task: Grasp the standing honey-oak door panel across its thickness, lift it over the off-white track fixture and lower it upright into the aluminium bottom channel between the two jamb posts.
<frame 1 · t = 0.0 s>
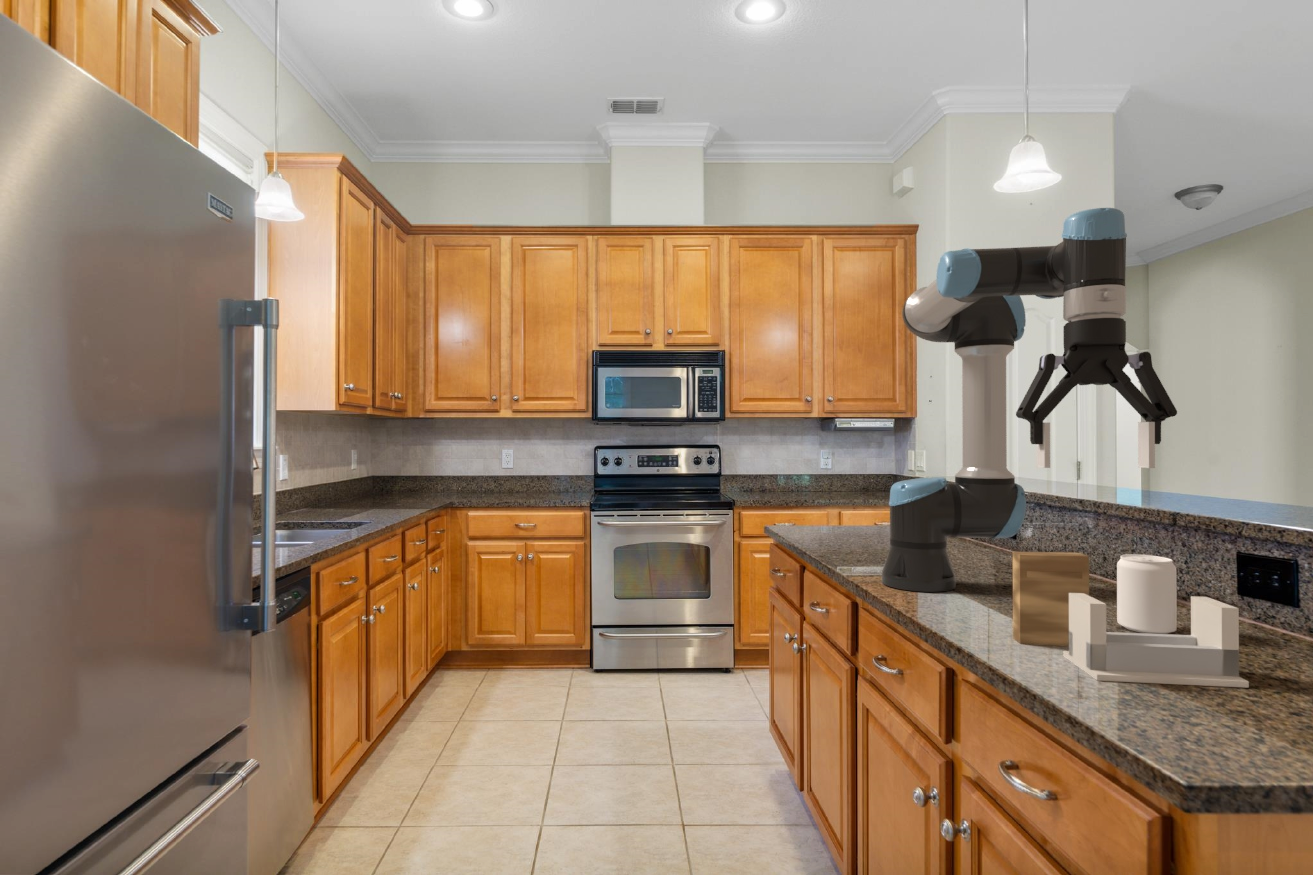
hand: (1094, 467, 96), 28 cm above the counter, fingers open, 13 cm apart
beverage can: (1146, 630, 113), on the counter
door track: (1149, 670, 93), on the counter
door panel: (1050, 642, 106), on the counter
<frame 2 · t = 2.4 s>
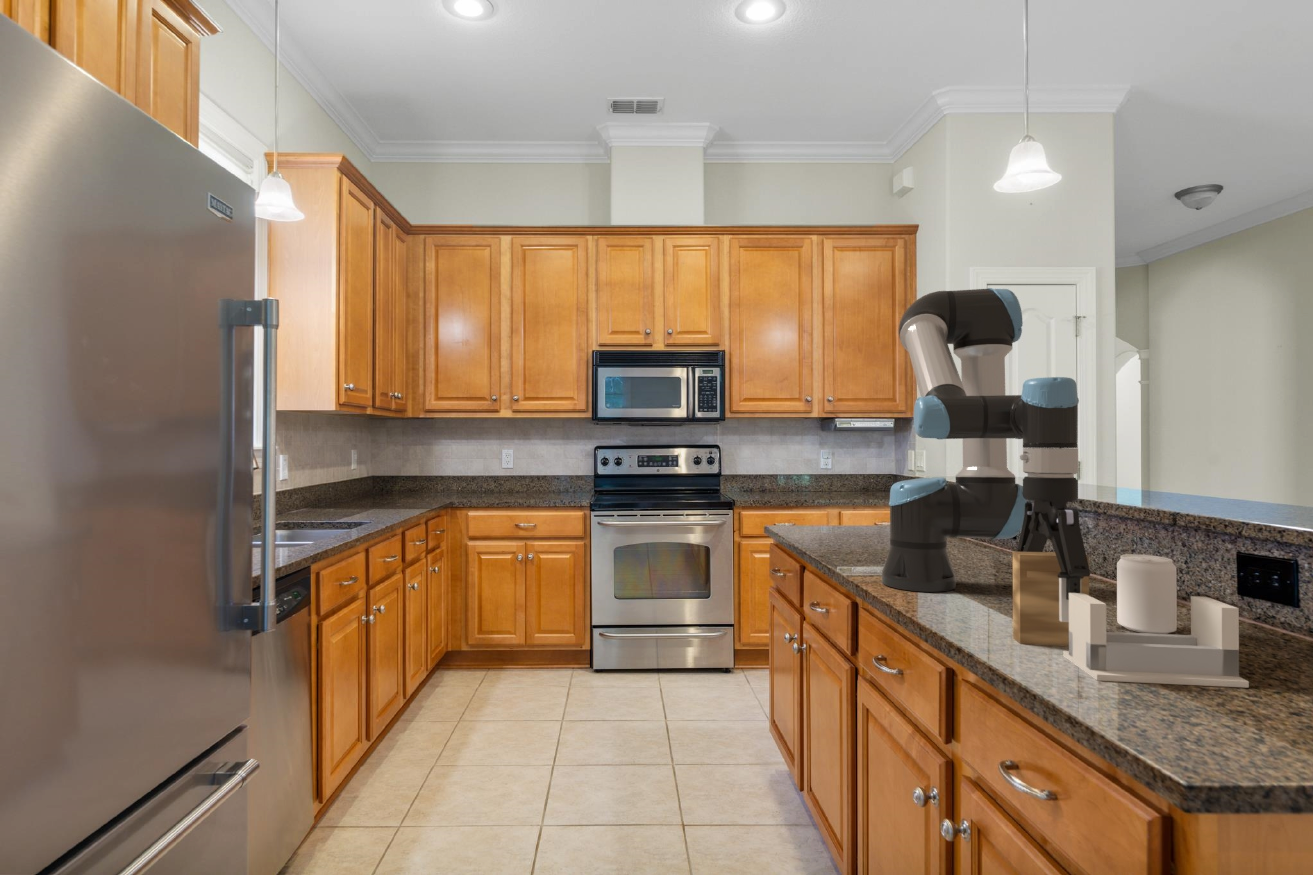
hand: (1050, 610, 106), 5 cm above the counter, fingers open, 13 cm apart
nothing on the counter moved.
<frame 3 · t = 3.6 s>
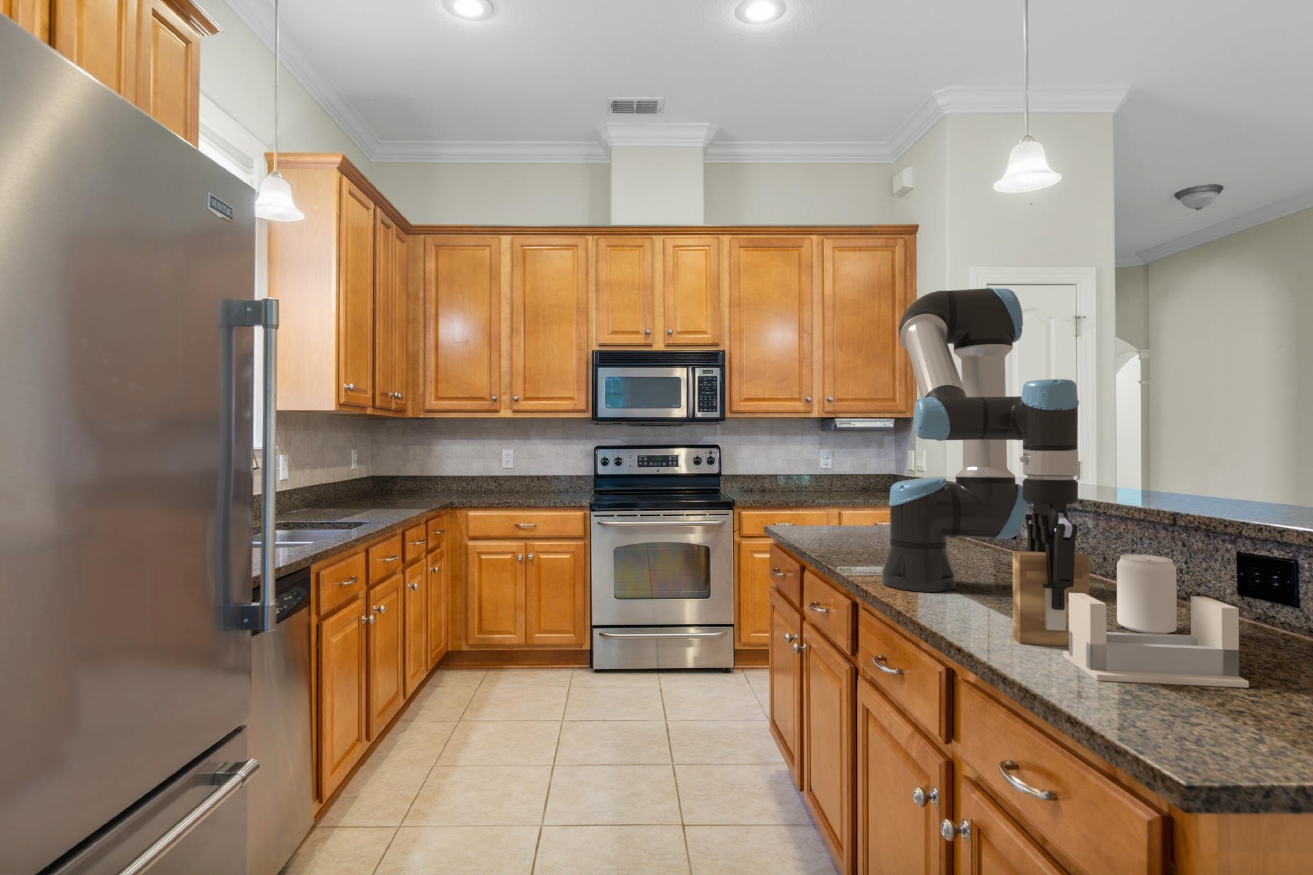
hand: (1050, 625, 106), 3 cm above the counter, fingers closed on door panel, 3 cm apart
door panel: (1050, 642, 106), on the counter, touching gripper
everything else where it was.
when the fingers open (6 cm above the counter, at t = 8.5 s): door panel drops 3 cm, resting on door track.
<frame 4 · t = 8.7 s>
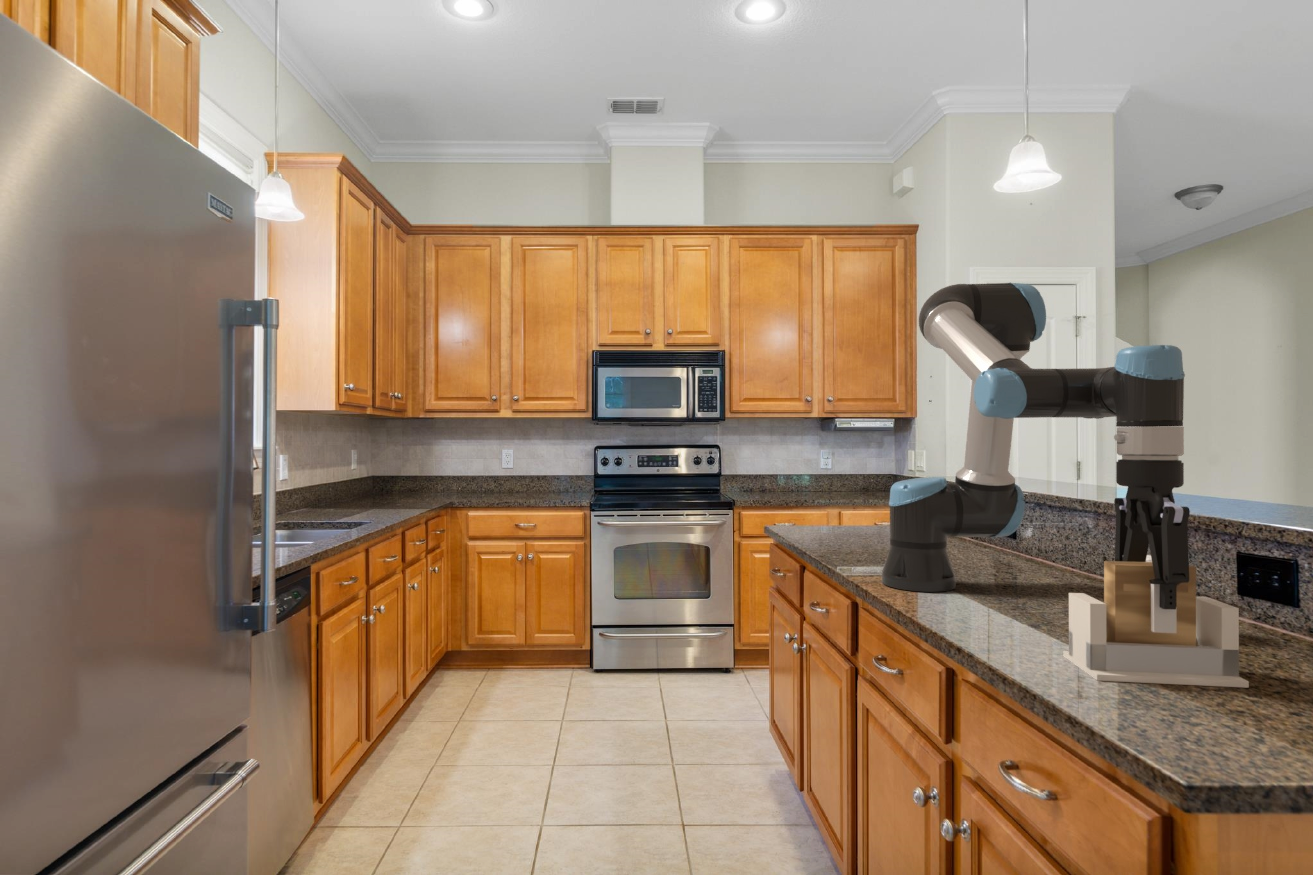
hand: (1149, 624, 93), 6 cm above the counter, fingers open, 6 cm apart
door panel: (1149, 664, 93), point 1 cm above the counter, touching door track
everything else where it was.
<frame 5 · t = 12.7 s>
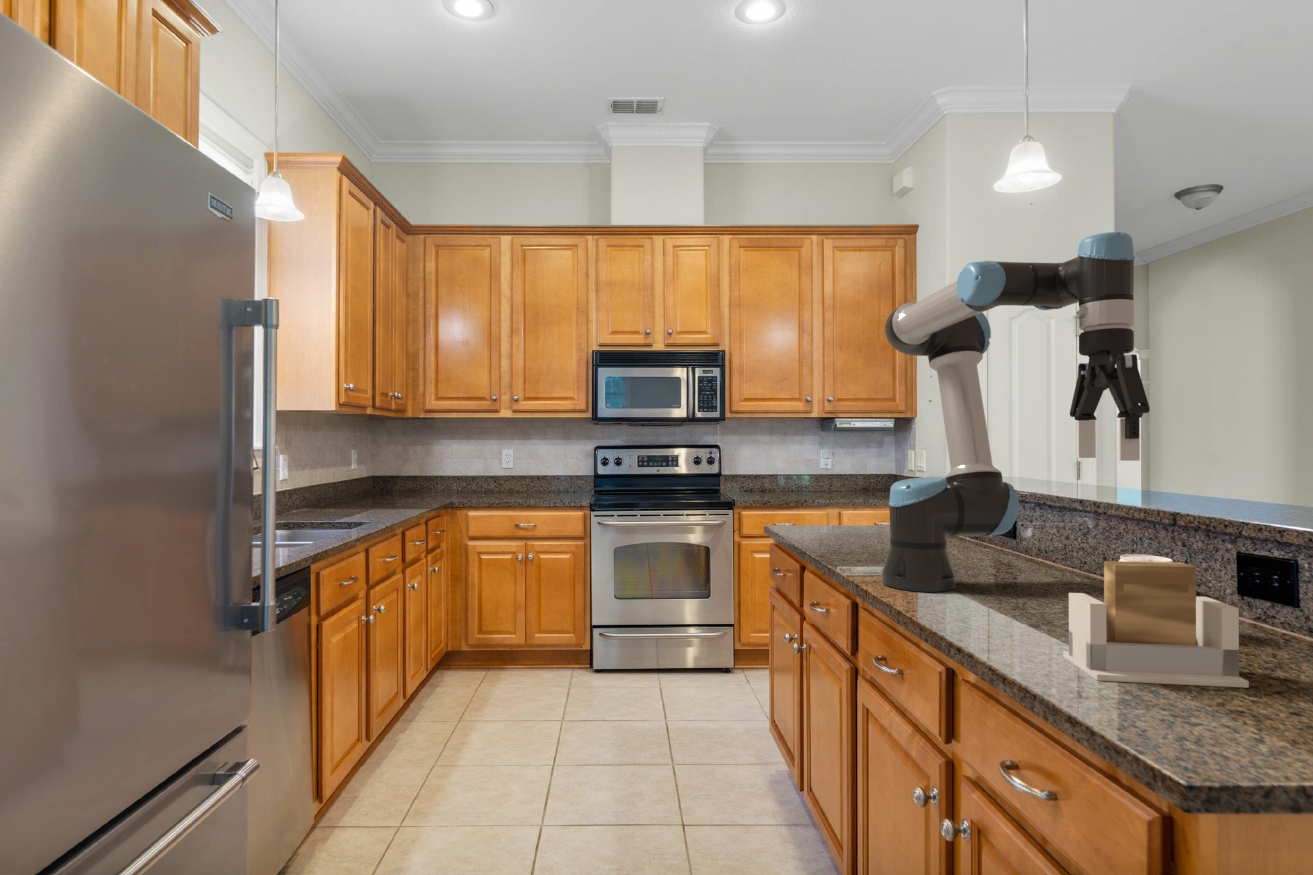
hand: (1106, 459, 110), 29 cm above the counter, fingers open, 13 cm apart
nothing on the counter moved.
at the end: door panel 0.1 cm off-centre on the door track, point 0.8 cm above the door track's base; door panel tilted 0°; the gripper is holding nothing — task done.
